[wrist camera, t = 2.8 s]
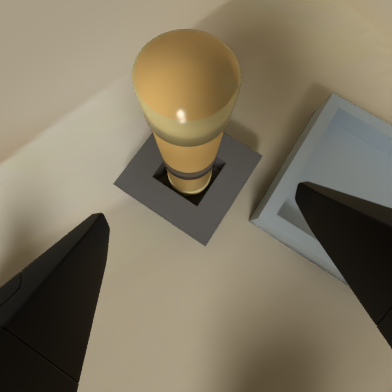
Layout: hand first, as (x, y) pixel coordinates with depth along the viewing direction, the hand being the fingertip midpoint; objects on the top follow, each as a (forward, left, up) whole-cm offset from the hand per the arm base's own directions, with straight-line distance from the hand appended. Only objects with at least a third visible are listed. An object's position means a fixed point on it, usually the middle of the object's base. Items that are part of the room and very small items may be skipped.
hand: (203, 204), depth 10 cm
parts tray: (-12, -11, -11) cm, 20 cm away
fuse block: (+3, -4, -11) cm, 12 cm away
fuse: (+3, -4, -11) cm, 12 cm away
